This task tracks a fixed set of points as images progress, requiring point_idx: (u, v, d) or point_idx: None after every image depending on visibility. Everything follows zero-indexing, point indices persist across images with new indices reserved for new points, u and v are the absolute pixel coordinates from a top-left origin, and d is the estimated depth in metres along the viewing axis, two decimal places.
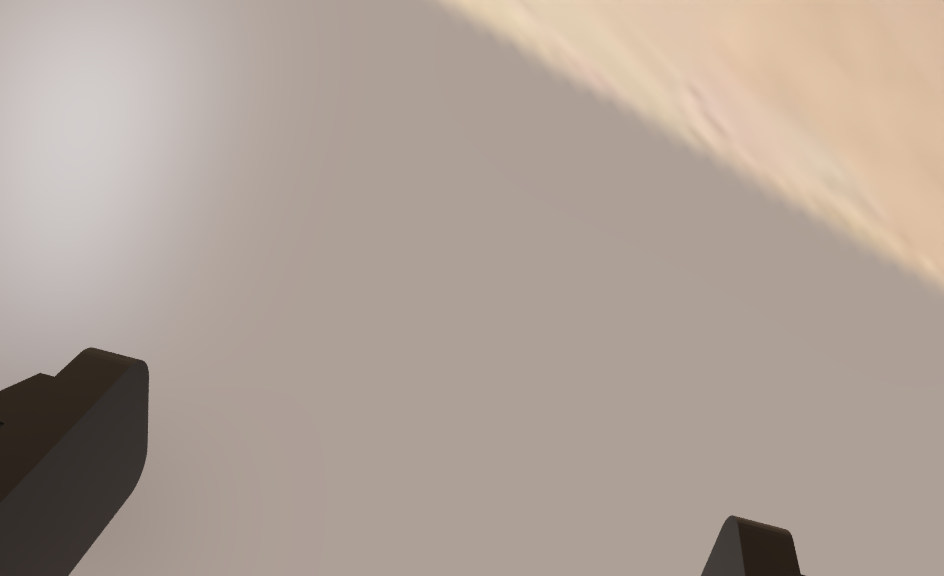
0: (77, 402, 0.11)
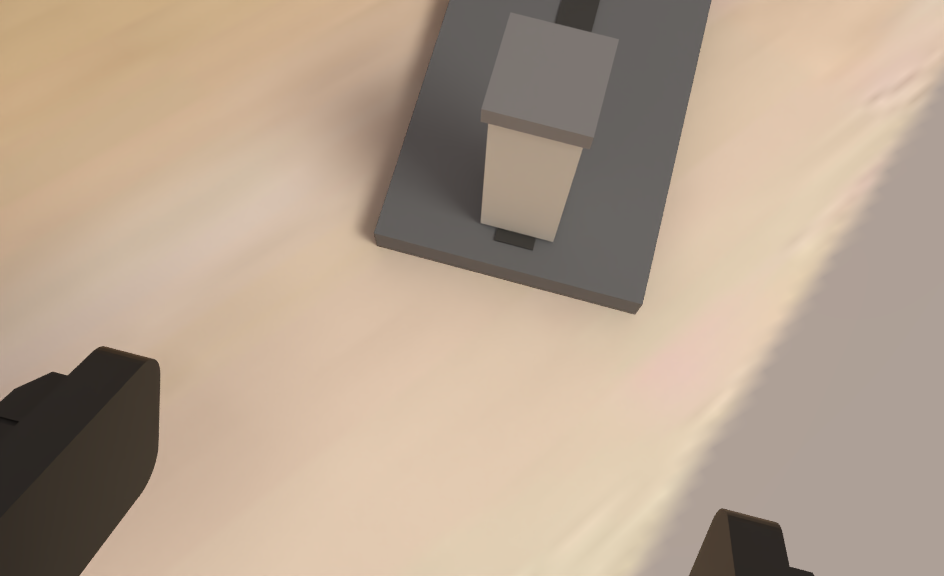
0: (91, 400, 0.11)
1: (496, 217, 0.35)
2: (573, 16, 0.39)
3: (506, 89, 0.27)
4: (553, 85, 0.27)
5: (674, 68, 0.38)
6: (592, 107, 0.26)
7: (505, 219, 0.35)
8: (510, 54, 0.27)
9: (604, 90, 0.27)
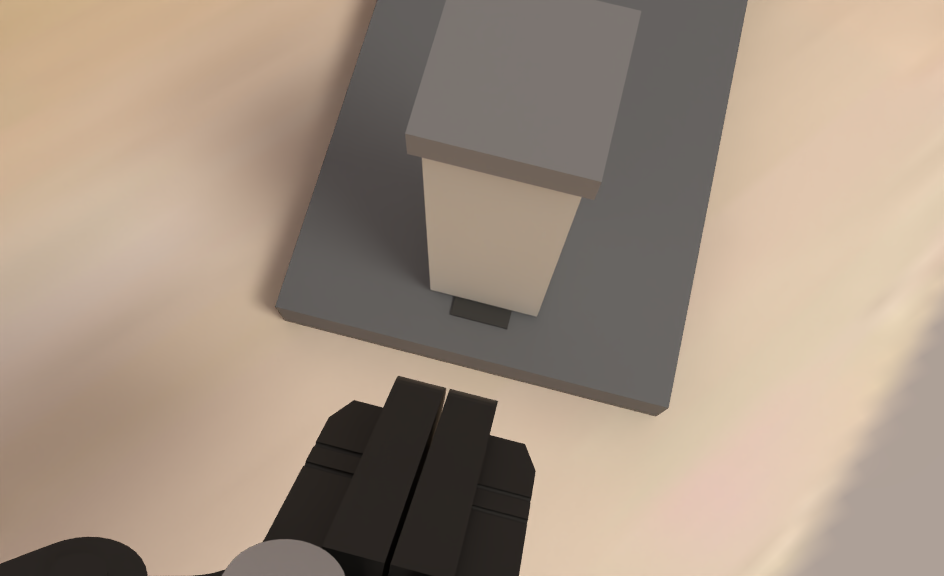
0: (415, 430, 0.11)
1: (452, 283, 0.23)
2: None
3: (448, 98, 0.15)
4: (530, 91, 0.15)
5: (705, 61, 0.27)
6: (598, 128, 0.15)
7: (465, 287, 0.23)
8: (456, 38, 0.16)
9: (618, 98, 0.15)
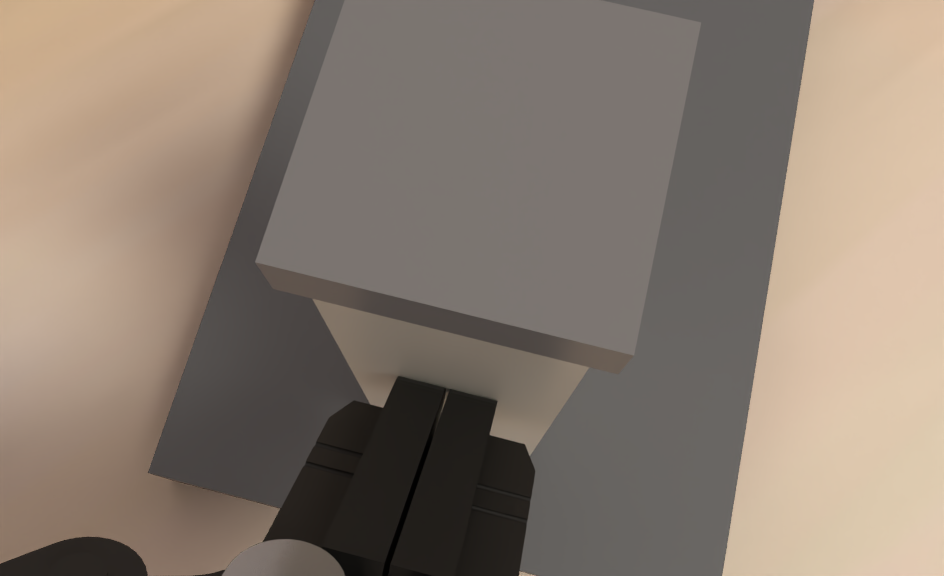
0: (415, 430, 0.11)
1: None
2: None
3: (341, 192, 0.08)
4: (496, 176, 0.08)
5: (755, 110, 0.20)
6: (626, 248, 0.08)
7: None
8: (358, 77, 0.08)
9: (663, 188, 0.08)
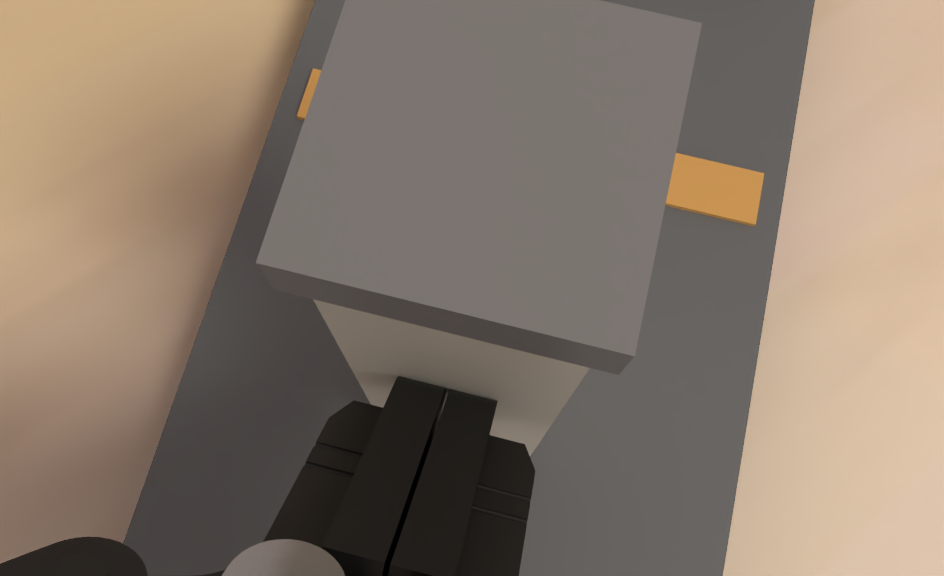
0: (415, 430, 0.11)
1: None
2: None
3: (342, 193, 0.08)
4: (497, 176, 0.08)
5: (696, 445, 0.17)
6: (626, 249, 0.08)
7: None
8: (359, 77, 0.08)
9: (663, 189, 0.08)
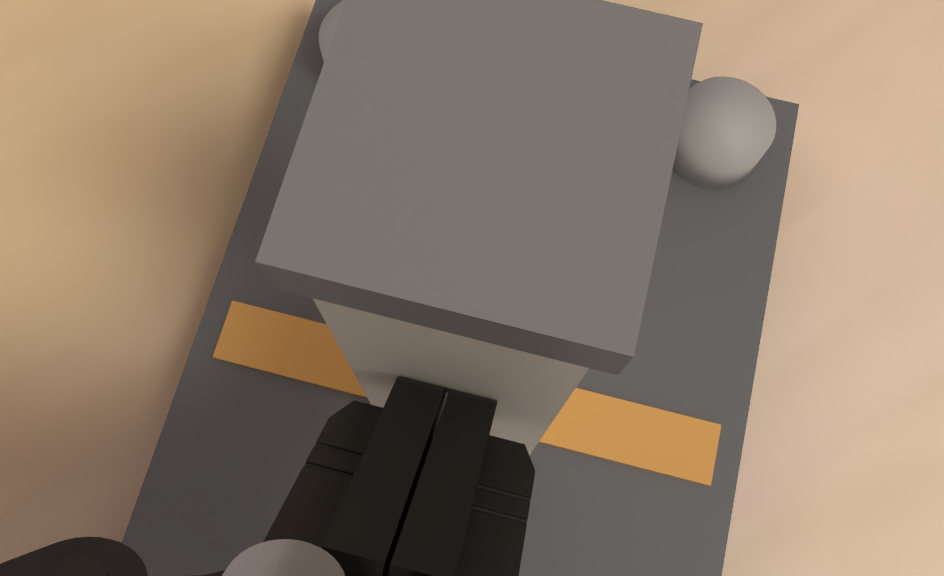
0: (415, 430, 0.11)
1: None
2: None
3: (342, 192, 0.08)
4: (497, 176, 0.08)
5: None
6: (626, 249, 0.08)
7: None
8: (359, 76, 0.08)
9: (663, 189, 0.08)
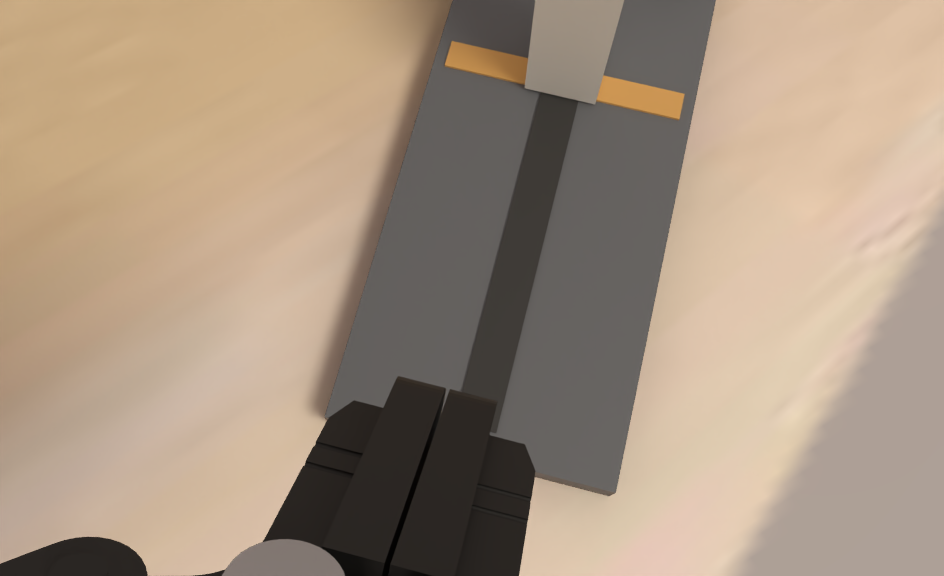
0: (415, 430, 0.11)
1: (540, 77, 0.36)
2: (538, 167, 0.36)
3: None
4: None
5: (647, 222, 0.36)
6: None
7: (549, 79, 0.36)
8: None
9: None
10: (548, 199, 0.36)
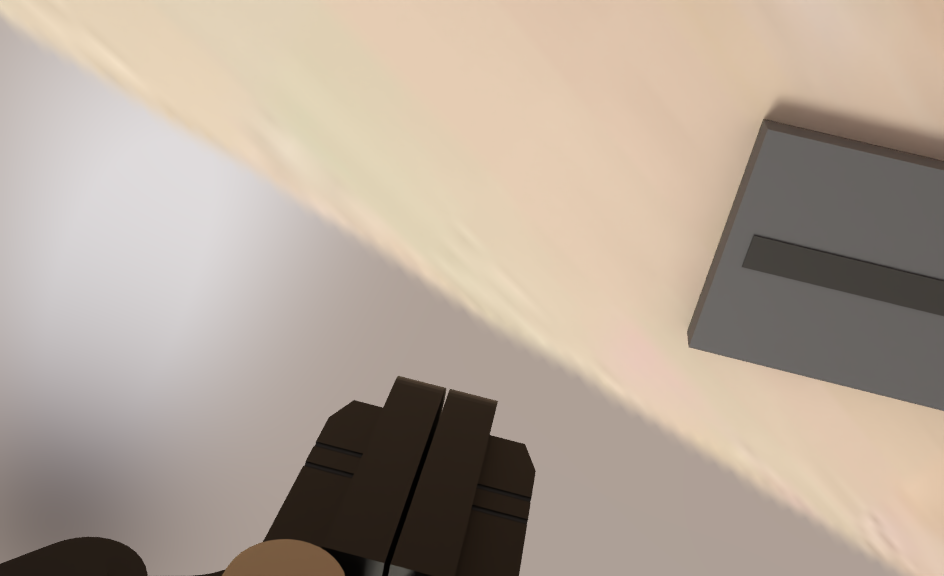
0: (415, 430, 0.11)
1: None
2: None
3: None
4: None
5: (917, 387, 0.42)
6: None
7: None
8: None
9: None
10: None
